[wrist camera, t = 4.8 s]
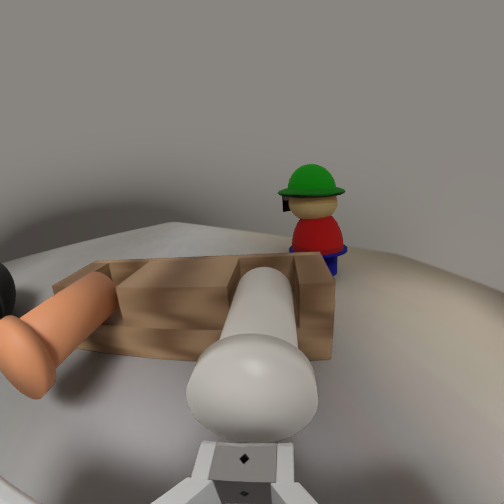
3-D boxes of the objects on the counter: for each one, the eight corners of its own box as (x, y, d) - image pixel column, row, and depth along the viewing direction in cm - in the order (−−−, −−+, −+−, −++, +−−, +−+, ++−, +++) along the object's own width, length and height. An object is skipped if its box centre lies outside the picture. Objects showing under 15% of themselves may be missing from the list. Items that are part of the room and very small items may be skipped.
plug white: (300, 322, 22) (299, 257, 20) (313, 441, 11) (322, 351, 9) (232, 324, 22) (225, 260, 21) (198, 439, 11) (174, 351, 10)
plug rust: (131, 322, 23) (118, 264, 22) (56, 408, 12) (21, 331, 11) (85, 318, 23) (71, 265, 22) (8, 388, 13) (-22, 320, 11)
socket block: (318, 313, 29) (319, 251, 27) (330, 359, 21) (335, 282, 20) (107, 313, 31) (95, 260, 30) (71, 347, 23) (51, 285, 22)
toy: (301, 291, 35) (297, 162, 31) (271, 271, 43) (265, 166, 39) (358, 276, 38) (358, 163, 34) (323, 261, 46) (320, 165, 42)
